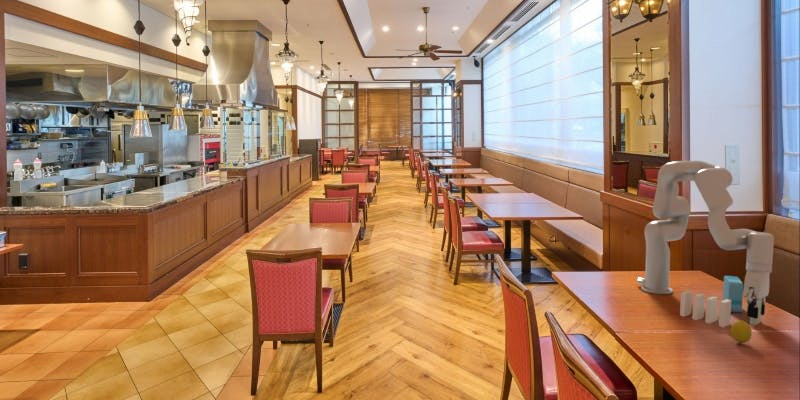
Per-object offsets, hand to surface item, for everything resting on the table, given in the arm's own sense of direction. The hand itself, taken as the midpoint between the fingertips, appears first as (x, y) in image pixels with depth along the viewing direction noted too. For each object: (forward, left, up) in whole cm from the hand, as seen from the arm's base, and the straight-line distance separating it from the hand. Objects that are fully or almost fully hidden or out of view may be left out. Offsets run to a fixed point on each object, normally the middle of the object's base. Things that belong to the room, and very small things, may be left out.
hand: (755, 315), depth 176 cm
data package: (-12, +11, -3) cm, 17 cm away
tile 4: (-6, -11, -3) cm, 13 cm away
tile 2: (-15, -11, -3) cm, 18 cm away
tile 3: (-10, -11, -3) cm, 15 cm away
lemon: (+5, -25, -3) cm, 26 cm away
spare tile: (0, 0, -3) cm, 3 cm away
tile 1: (-19, -11, -3) cm, 22 cm away
